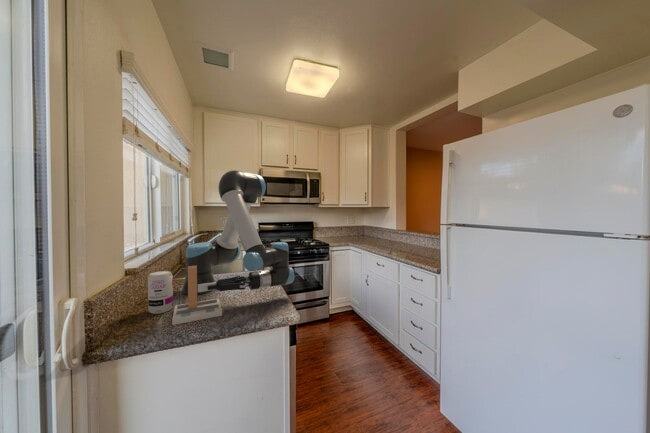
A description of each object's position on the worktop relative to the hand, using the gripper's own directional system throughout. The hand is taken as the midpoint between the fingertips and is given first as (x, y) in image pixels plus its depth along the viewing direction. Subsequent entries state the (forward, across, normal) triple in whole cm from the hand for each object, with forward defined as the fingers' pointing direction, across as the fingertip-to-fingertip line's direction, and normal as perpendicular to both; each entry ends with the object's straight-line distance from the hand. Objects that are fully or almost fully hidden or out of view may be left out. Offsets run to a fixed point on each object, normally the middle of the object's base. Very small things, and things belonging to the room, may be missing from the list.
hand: (197, 288), depth 91 cm
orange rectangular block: (+2, +1, -8) cm, 8 cm away
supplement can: (+13, +11, -10) cm, 20 cm away
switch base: (0, +1, -10) cm, 10 cm away
